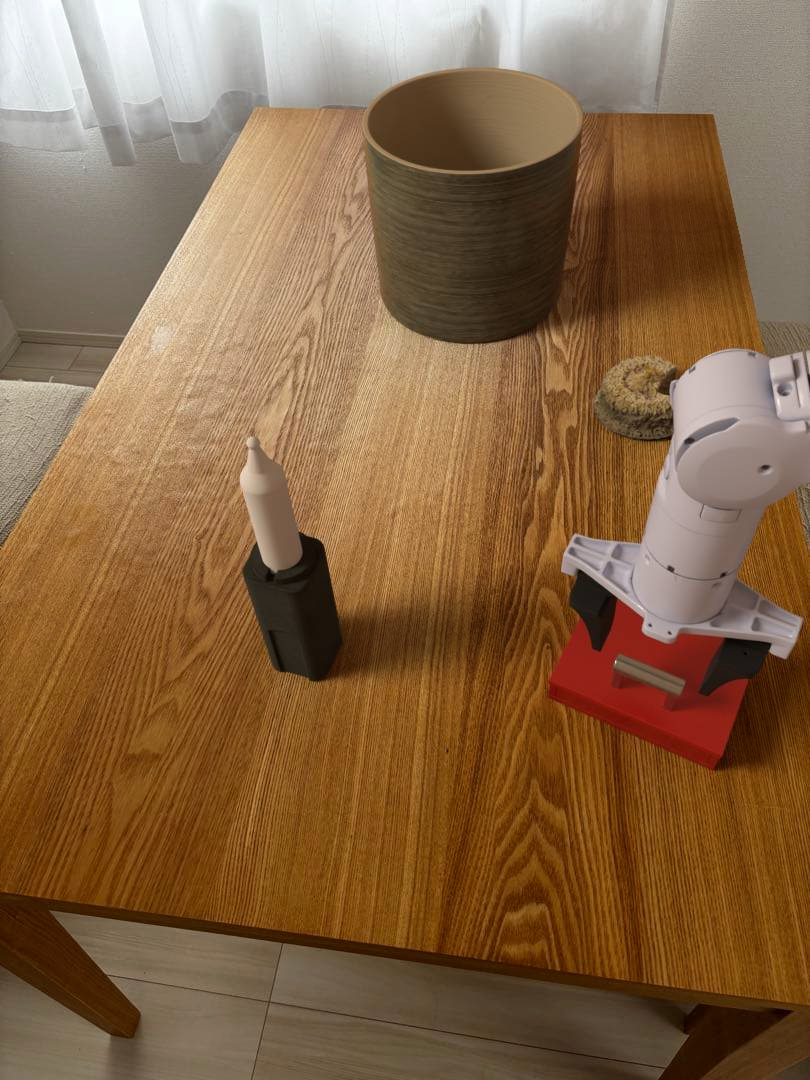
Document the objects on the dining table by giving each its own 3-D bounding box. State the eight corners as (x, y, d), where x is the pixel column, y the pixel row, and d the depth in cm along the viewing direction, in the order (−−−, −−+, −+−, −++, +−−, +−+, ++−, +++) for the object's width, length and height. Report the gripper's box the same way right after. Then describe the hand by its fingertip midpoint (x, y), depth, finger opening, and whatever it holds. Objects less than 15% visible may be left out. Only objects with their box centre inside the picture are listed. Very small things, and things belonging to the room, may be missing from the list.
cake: (598, 447, 86) (600, 407, 82) (588, 381, 92) (589, 340, 88) (701, 440, 85) (709, 399, 81) (684, 373, 91) (690, 332, 87)
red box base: (712, 771, 64) (722, 753, 62) (547, 697, 69) (550, 679, 66) (748, 669, 69) (758, 649, 67) (592, 607, 74) (596, 586, 71)
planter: (356, 255, 108) (339, 88, 92) (524, 220, 111) (535, 53, 95) (406, 365, 94) (395, 192, 79) (595, 322, 97) (621, 147, 82)
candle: (346, 634, 73) (306, 418, 54) (324, 685, 70) (272, 476, 51) (292, 619, 74) (233, 402, 55) (267, 668, 72) (195, 458, 52)
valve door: (720, 759, 62) (735, 733, 58) (548, 683, 66) (552, 655, 63) (759, 649, 67) (774, 619, 64) (597, 586, 71) (603, 555, 68)
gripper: (550, 544, 50) (534, 663, 61) (807, 642, 45) (741, 753, 56) (594, 465, 54) (572, 590, 65) (837, 548, 49) (769, 668, 60)
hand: (653, 661), depth 61 cm, fingers open, 7 cm apart
